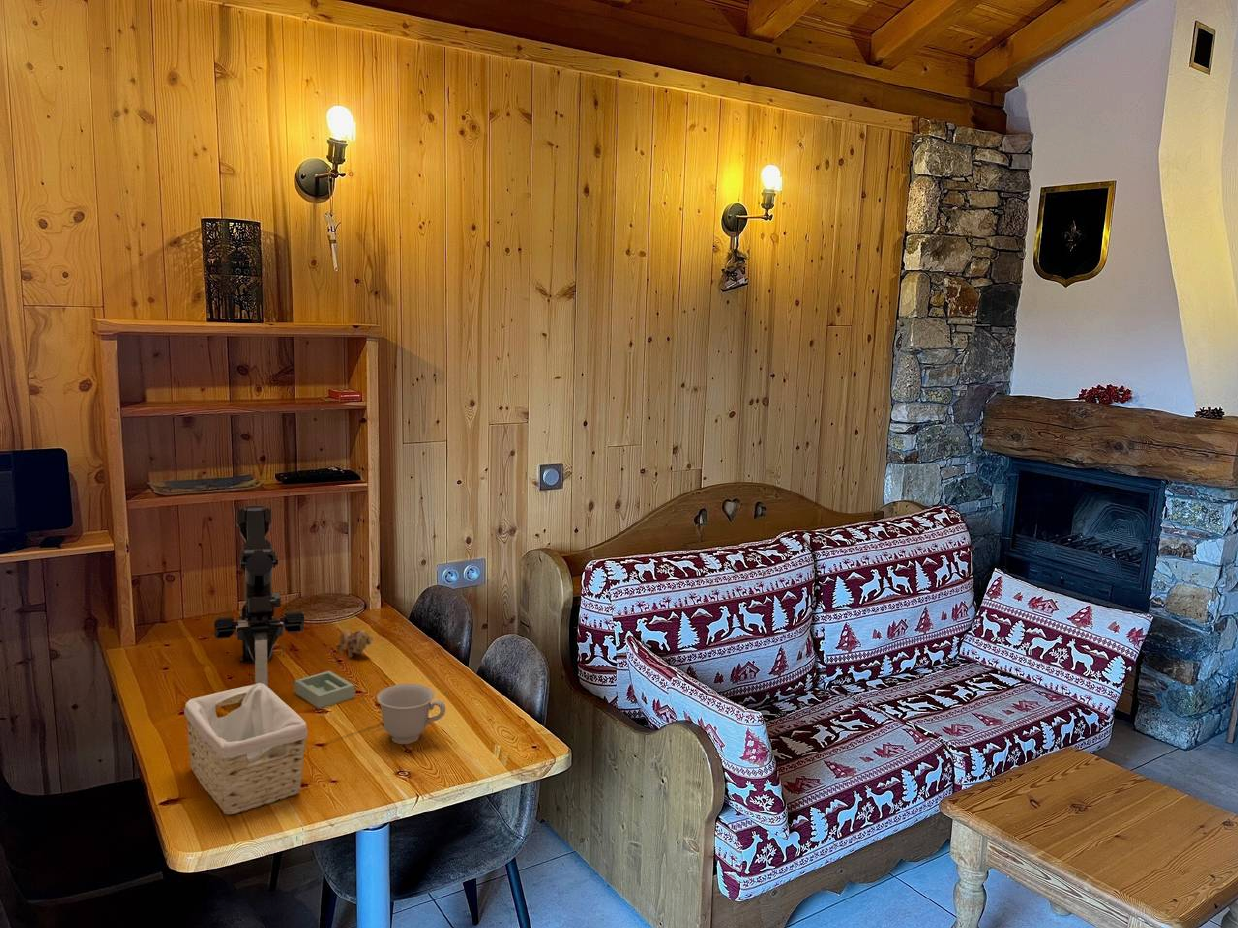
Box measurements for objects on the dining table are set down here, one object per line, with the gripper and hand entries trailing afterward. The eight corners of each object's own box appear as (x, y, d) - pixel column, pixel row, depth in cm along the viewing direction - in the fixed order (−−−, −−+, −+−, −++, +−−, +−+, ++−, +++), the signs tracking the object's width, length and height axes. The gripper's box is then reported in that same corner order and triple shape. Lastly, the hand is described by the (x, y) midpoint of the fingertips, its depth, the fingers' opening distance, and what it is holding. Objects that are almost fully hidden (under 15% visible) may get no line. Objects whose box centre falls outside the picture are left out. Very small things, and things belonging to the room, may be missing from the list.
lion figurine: (374, 663, 235) (375, 630, 234) (356, 668, 231) (356, 635, 230) (345, 646, 245) (345, 614, 243) (327, 651, 241) (327, 619, 240)
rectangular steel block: (255, 678, 205) (254, 632, 203) (266, 677, 206) (266, 631, 204) (255, 687, 200) (255, 640, 198) (267, 686, 201) (266, 639, 199)
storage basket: (182, 767, 181) (180, 698, 178) (265, 745, 191) (264, 679, 188) (222, 823, 163) (221, 747, 160) (310, 795, 173) (310, 723, 171)
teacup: (432, 757, 190) (433, 712, 188) (366, 746, 193) (367, 702, 191) (454, 731, 202) (455, 689, 200) (391, 721, 204) (392, 680, 203)
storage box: (294, 696, 213) (294, 680, 212) (329, 685, 219) (329, 670, 219) (319, 712, 206) (319, 696, 205) (354, 701, 212) (354, 685, 211)
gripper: (213, 583, 199) (214, 649, 191) (303, 577, 206) (307, 641, 198) (214, 605, 207) (215, 669, 199) (300, 599, 215) (304, 661, 207)
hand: (261, 660), depth 201 cm, fingers closed on rectangular steel block, 2 cm apart
